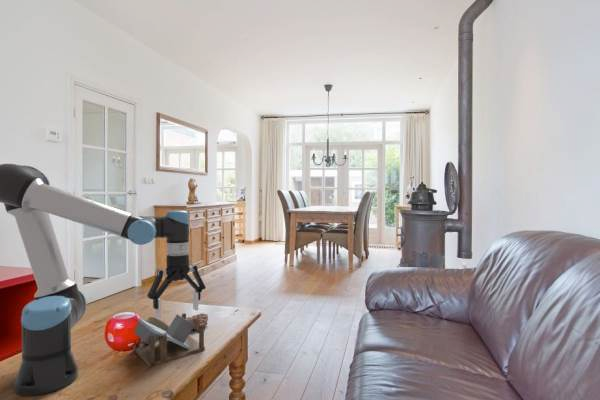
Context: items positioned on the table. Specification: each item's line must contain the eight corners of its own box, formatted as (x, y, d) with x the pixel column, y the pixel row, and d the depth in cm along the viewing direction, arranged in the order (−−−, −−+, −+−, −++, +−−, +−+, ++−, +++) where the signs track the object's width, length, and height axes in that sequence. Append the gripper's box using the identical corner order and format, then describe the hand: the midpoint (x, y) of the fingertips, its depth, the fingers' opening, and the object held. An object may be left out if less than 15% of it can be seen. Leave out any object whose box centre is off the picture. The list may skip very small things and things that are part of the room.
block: (171, 337, 123) (183, 318, 126) (165, 332, 127) (177, 314, 130) (183, 343, 126) (195, 324, 129) (177, 338, 130) (188, 320, 133)
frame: (150, 368, 113) (150, 339, 113) (132, 348, 127) (132, 323, 127) (206, 350, 126) (206, 325, 125) (184, 335, 139) (184, 311, 139)
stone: (172, 332, 145) (178, 316, 141) (166, 346, 139) (172, 330, 135) (146, 325, 143) (151, 308, 139) (139, 339, 137) (144, 322, 133)
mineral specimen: (201, 330, 140) (192, 315, 140) (185, 340, 140) (176, 325, 141) (212, 319, 151) (204, 305, 152) (197, 328, 152) (189, 314, 153)
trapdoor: (144, 342, 114) (152, 329, 116) (131, 330, 124) (139, 318, 126) (183, 359, 123) (190, 347, 124) (168, 347, 133) (175, 336, 134)
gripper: (144, 259, 116) (144, 324, 117) (214, 251, 133) (214, 308, 133) (137, 256, 122) (137, 318, 122) (205, 249, 138) (205, 303, 139)
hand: (177, 313), depth 128 cm, fingers open, 13 cm apart
